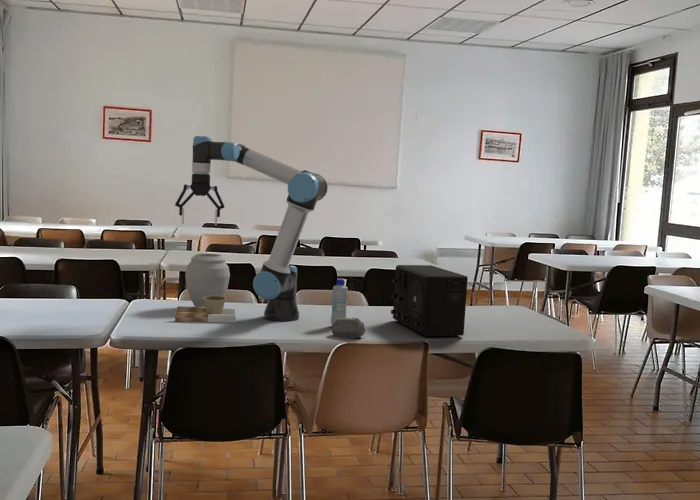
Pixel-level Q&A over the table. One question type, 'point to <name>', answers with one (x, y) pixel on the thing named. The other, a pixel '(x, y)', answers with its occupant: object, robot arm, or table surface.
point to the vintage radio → (430, 300)
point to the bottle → (339, 301)
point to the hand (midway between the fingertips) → (199, 224)
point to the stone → (348, 328)
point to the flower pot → (214, 304)
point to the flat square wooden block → (191, 314)
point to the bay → (223, 316)
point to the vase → (206, 277)
